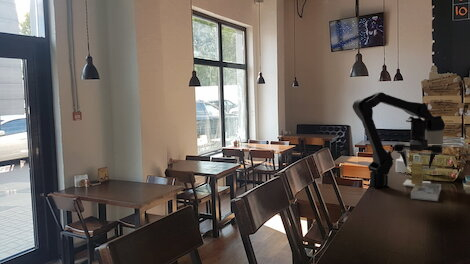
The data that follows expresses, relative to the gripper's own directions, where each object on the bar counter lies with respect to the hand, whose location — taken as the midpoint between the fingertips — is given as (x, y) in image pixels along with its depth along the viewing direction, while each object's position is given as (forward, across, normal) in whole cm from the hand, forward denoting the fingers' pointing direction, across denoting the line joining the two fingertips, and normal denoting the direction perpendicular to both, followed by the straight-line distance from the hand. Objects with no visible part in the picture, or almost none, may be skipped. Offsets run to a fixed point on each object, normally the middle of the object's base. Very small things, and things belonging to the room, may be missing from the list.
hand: (417, 167), depth 162 cm
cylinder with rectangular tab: (+8, -8, +26) cm, 29 cm away
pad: (+8, 0, 0) cm, 8 cm away
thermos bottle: (+8, +4, +25) cm, 26 cm away
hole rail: (+8, +5, -16) cm, 18 cm away
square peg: (+7, 0, 0) cm, 7 cm away
